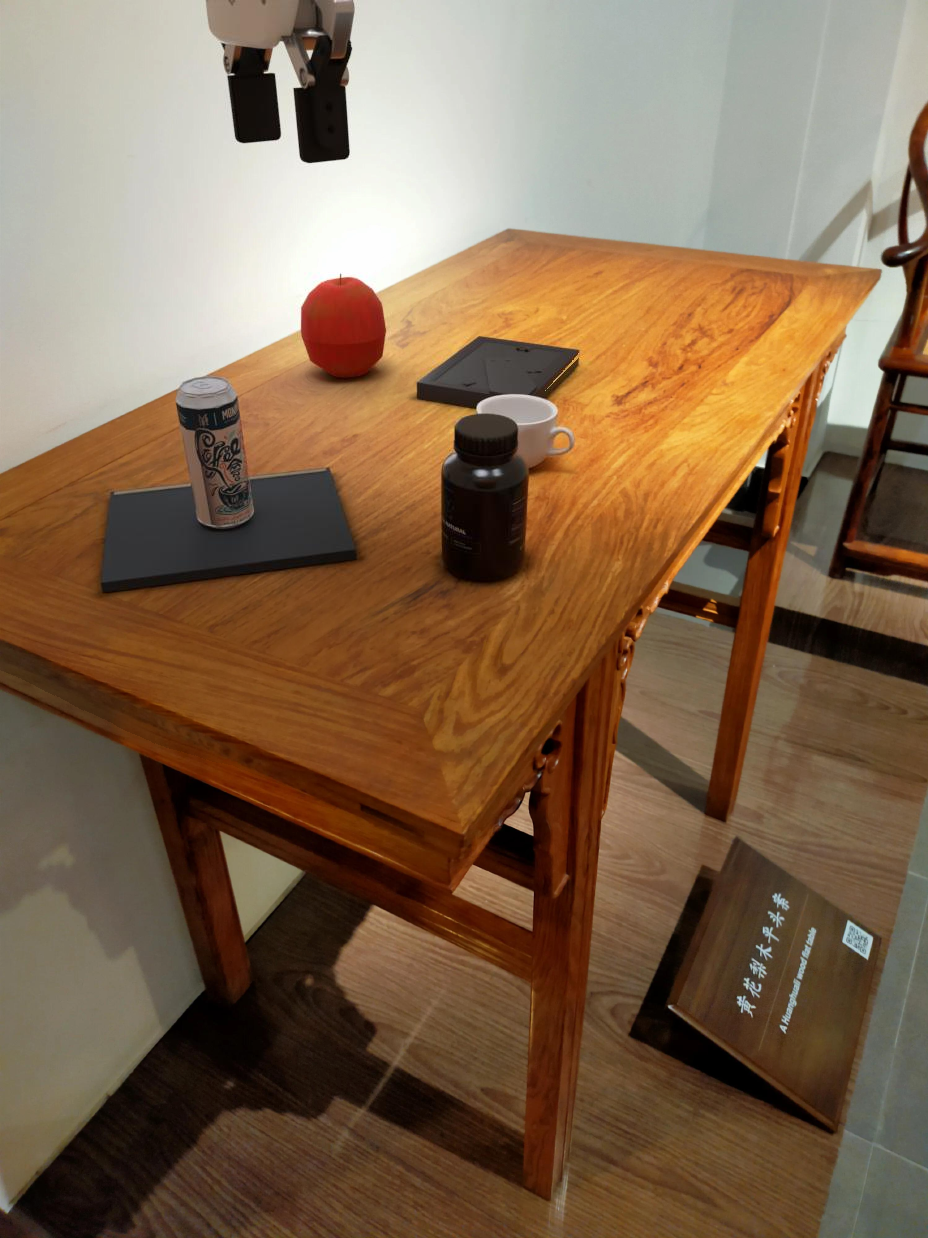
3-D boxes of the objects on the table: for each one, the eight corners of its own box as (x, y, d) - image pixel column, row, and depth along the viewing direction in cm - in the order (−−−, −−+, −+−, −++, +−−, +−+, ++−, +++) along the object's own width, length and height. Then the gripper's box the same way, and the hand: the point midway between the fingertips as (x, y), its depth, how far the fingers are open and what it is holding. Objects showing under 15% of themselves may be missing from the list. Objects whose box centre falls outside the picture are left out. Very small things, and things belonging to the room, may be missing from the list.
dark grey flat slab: (102, 593, 73) (99, 581, 73) (112, 500, 86) (109, 490, 85) (356, 559, 77) (355, 548, 77) (330, 476, 90) (329, 465, 89)
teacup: (461, 466, 92) (461, 414, 89) (498, 438, 97) (499, 388, 94) (555, 489, 88) (558, 435, 84) (587, 458, 93) (591, 407, 90)
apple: (342, 351, 119) (335, 257, 113) (406, 367, 115) (402, 269, 108) (287, 375, 112) (276, 275, 106) (352, 392, 108) (345, 289, 101)
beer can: (223, 538, 78) (200, 400, 71) (186, 521, 81) (160, 386, 74) (266, 516, 81) (247, 382, 75) (229, 500, 84) (208, 369, 77)
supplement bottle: (430, 576, 75) (426, 436, 68) (456, 535, 80) (455, 402, 74) (513, 590, 73) (518, 448, 67) (534, 547, 79) (540, 412, 72)
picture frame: (526, 417, 102) (578, 364, 115) (527, 397, 100) (579, 346, 114) (416, 398, 106) (478, 350, 120) (416, 379, 105) (478, 332, 118)
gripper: (137, -183, 56) (186, 139, 65) (259, -224, 44) (297, 175, 54) (254, -174, 59) (284, 130, 69) (397, -210, 47) (409, 162, 57)
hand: (290, 149), depth 61 cm, fingers open, 9 cm apart
